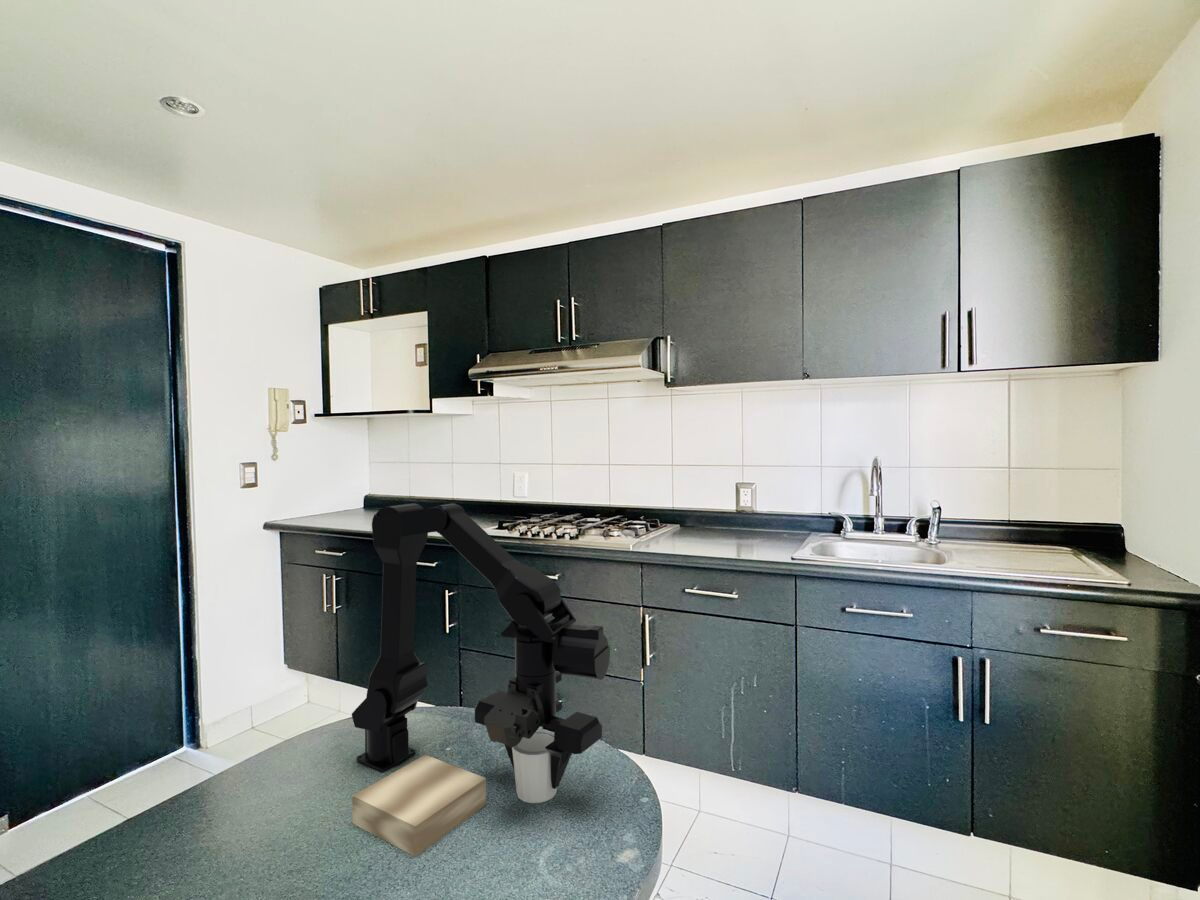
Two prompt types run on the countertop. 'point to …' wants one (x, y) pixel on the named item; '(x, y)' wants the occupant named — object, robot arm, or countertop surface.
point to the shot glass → (533, 768)
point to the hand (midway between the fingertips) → (536, 780)
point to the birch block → (419, 803)
